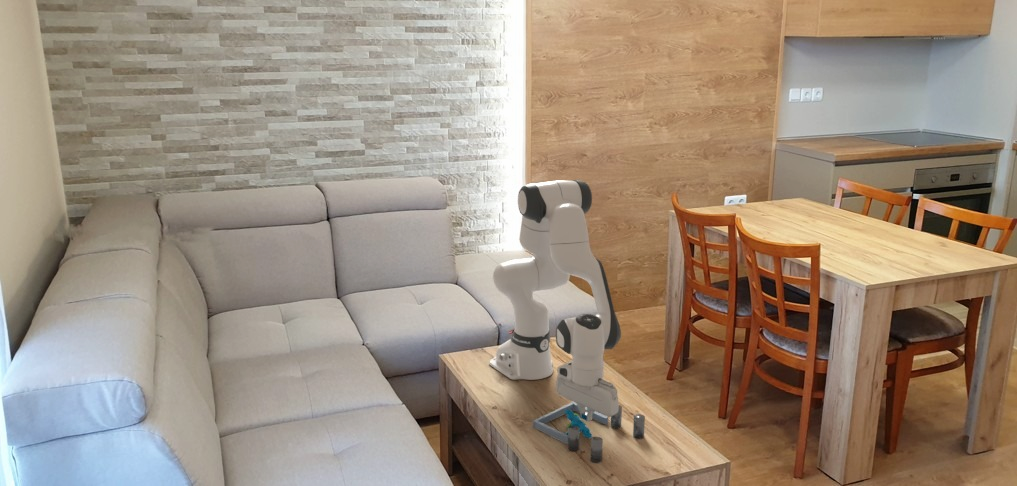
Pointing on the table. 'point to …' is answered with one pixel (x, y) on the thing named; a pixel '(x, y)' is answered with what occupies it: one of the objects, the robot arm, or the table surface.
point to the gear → (577, 423)
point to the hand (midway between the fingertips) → (586, 419)
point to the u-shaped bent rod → (541, 421)
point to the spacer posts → (598, 441)
